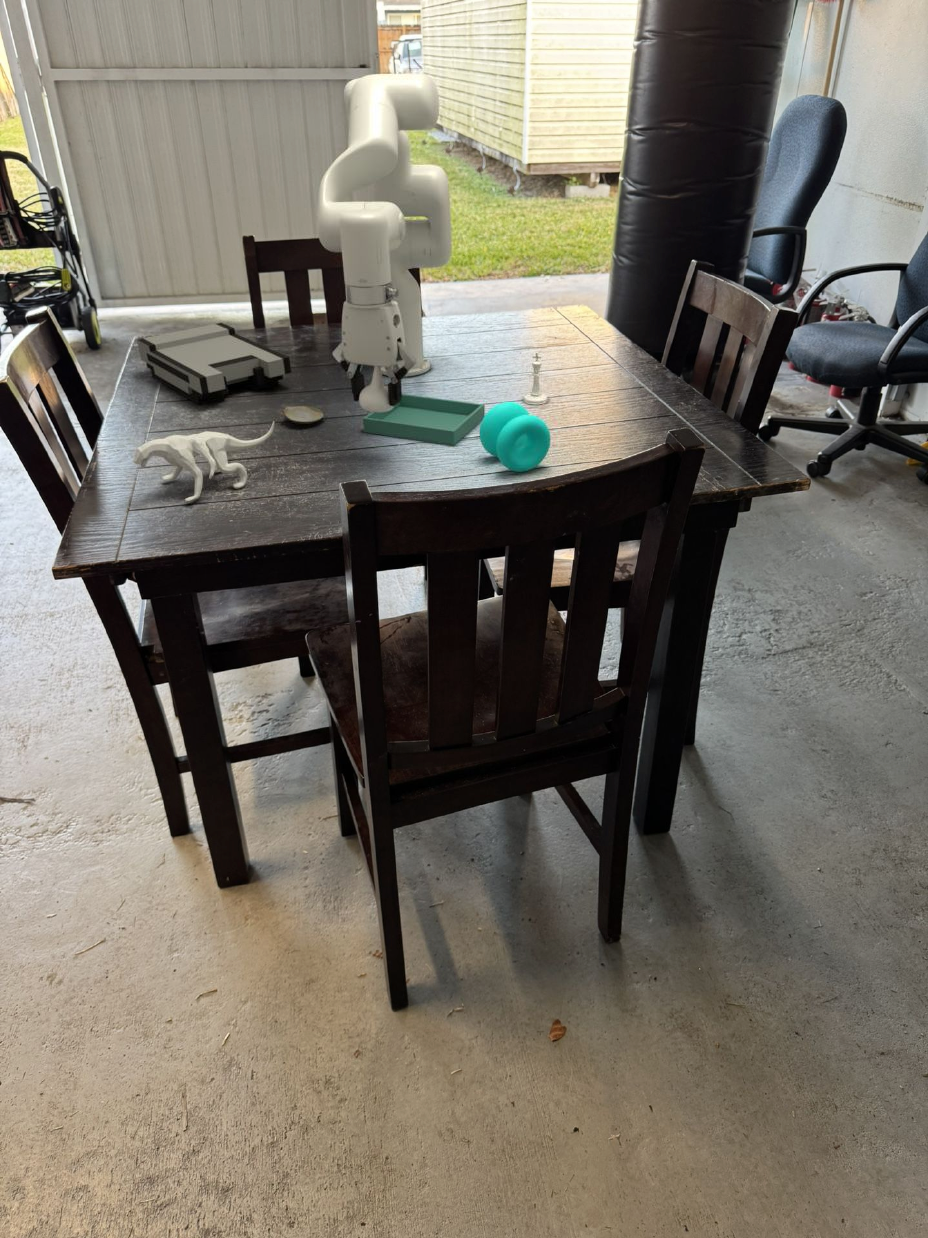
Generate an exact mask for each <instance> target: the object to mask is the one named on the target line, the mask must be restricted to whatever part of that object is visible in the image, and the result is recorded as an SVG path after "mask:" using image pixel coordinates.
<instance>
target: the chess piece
mask: <svg viewBox="0 0 928 1238" xmlns="http://www.w3.org/2000/svg"><path fill="white" fill-rule="evenodd" d="M532 359H535V360H533V361H532V362H531V366H532V370H533V371H531V376H532V377H533V381H532V388H531V391H530V393H527V394H526V395H524V397H523V398H524V399H523V402H524V403H525V404H529V405H535V406H536V405H537V406H538V405H543V404H546V403H547V402H548V396H547V395H546V394H544V393H542V392H541V389H540V378H539V377H541V376H542V372H540V370H541V366H542V363H543V362H542V361H541V360H539V359H542V355H539V352H535V354H533V355H532Z"/></svg>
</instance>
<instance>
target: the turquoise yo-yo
mask: <svg viewBox="0 0 928 1238" xmlns="http://www.w3.org/2000/svg"><path fill="white" fill-rule="evenodd" d="M479 440H480V444H481V446H482V447H483V448H484V450H485V451H486V452H487V453H488V454H490V455H492V456H494V457H496V458H498V460H499V461H500V463H501V464H502V465H503V466H504V467H505V468H506V469H508V470H509V471H512V472H515V473H516V472H517V473H523V472H528V471H531V470H533V469H534V468H536V467H537V466H539V465H540V464H541V463H542V462H543V460H545V458H546V456H547V454H548V452H549V450H550V447H551V432H550V429H549V427H548V425H547V424H546V422H545V421H544V420H542V418H540V417H538V416H536V415H532V414H530V413H529V412H528V410H527V409H526V408H525V407H524V406H522V405H521V404H520V403H517V402H513V401H504V402H501V403H500V402H499V403H498V404H495V405H494V406H493V407H491V408H490V409H489V410H488V411H487V412H486V413H485V416H484V418H483V420H482V421H481V422H480V426H479Z"/></svg>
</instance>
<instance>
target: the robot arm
mask: <svg viewBox="0 0 928 1238" xmlns="http://www.w3.org/2000/svg"><path fill="white" fill-rule="evenodd" d="M343 100H344V101H343V102H344V106H345V109H346V112H347V114H348V116H349V120H348V137H347V138H348V139H347V149H345V150H344V151H343V152H342V153H341V154H340V155H339V156H338V157H337V158H336V159H335V160H334V161H333V162H332V163H331V165H330V166H329V167H328V169H327V170H326V171H325V173H324V174H323V177H322V178H321V181H320V184H319V188H318V197H317V209H316V210H317V212H316V213H317V214H316V230H317V235H318V239H319V243H321V245H322V247H324V248H325V250H327V251H329V252H331V253H341V257H342V258H341V259H342V268H343V278H344V279H343V280H344V290H345V299H346V300H345V301H344V302H343V307H342V314H341V342H340V343H339V345H337V346H336V348H335V349H334V350H333V351H332V352H331V353H332V357H333V358H334V359H335V360H336V361H337V362H338V363H339V365H340V367H341V369H343V371H345V373H346V376H347V378H349V379H350V388H351V394H352V398H353V401H354V402H359V396H360V393H361V391H362V390H363V389H364V388H365V387H366V384H365V375H364V373H362V369H363V366H370V367H371V366H372V367H374V366H379V367H381V371H382V376H383V375H384V376H387V377H388V379H389V381H390V382H389V383H387V387H388V395H389V405H390V406H395V405H396V404H397V403H399V402H400V401H401V398H402V394H403V390H402V389H403V388H402V380H403V379H404V378H406V377H414V376H419V375H422V374H425V373H427V372H428V371H429V370H430V369H431V361H430V360H428V359H427V358H425V357H424V342H423V318H422V316H423V315H422V296H421V288H420V285H419V283H418V282H417V280H416V279H415V277H414V276H413V275H412V273H411V272H410V271H409V269H410V270H411V269H433V268H435V269H436V268H443V267H445V266H446V265H448V264H449V262H450V261H451V256H452V248H453V247H452V245H453V244H452V223H451V221H452V220H451V218H452V217H451V199H450V198H451V196H450V186H449V180H448V176H447V174H446V171H445V170H444V169H443V168H442V167H441V166H439V165H437V164H413V163H412V161H411V149H410V148H411V147H410V139H409V136H408V133H407V132H406V131H429V132H430V131H432V130H433V129H435V127H436V125H437V122H438V120H439V115H440V95H439V90H438V86H437V84H436V82H435V80H434V79H433V78H432V77H431V76H428V75H427V74H424V73H414V72H413V73H411V72H409V73H408V72H407V73H406V72H405V73H374V74H367V75H364V76H361V77H358V78H354V79H352V80H350V81H348V82H347V83H346V84H345V86H344V90H343ZM368 186H370V193H371V200H372V201H343V200H344V199H345V198H346V197H348V196H349V195H351V194H353V193H354V192H356V191H358V190H360V189H362V188H363V189H364V188H365V187H368ZM418 217H419V218H421V219H418ZM422 217H424V219H422ZM406 218H407V219H406ZM409 218H417V219H409Z"/></svg>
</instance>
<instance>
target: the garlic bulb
mask: <svg viewBox="0 0 928 1238" xmlns="http://www.w3.org/2000/svg"><path fill="white" fill-rule="evenodd" d="M358 403H359V405H360V407H361V408H362V409H363V410H365V411H367V412H369V413H371V412H387V411H390V410H391V409H393V407H394V406H390V405H389V395H388V386H387V385H385V384H384V379H383V374H382V371H381V367H379V366H373V372H372V377H371V382H370V383H369V385H367V386H365V388H364V389H363V390H362V391H361V393H360V396H359V401H358Z"/></svg>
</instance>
